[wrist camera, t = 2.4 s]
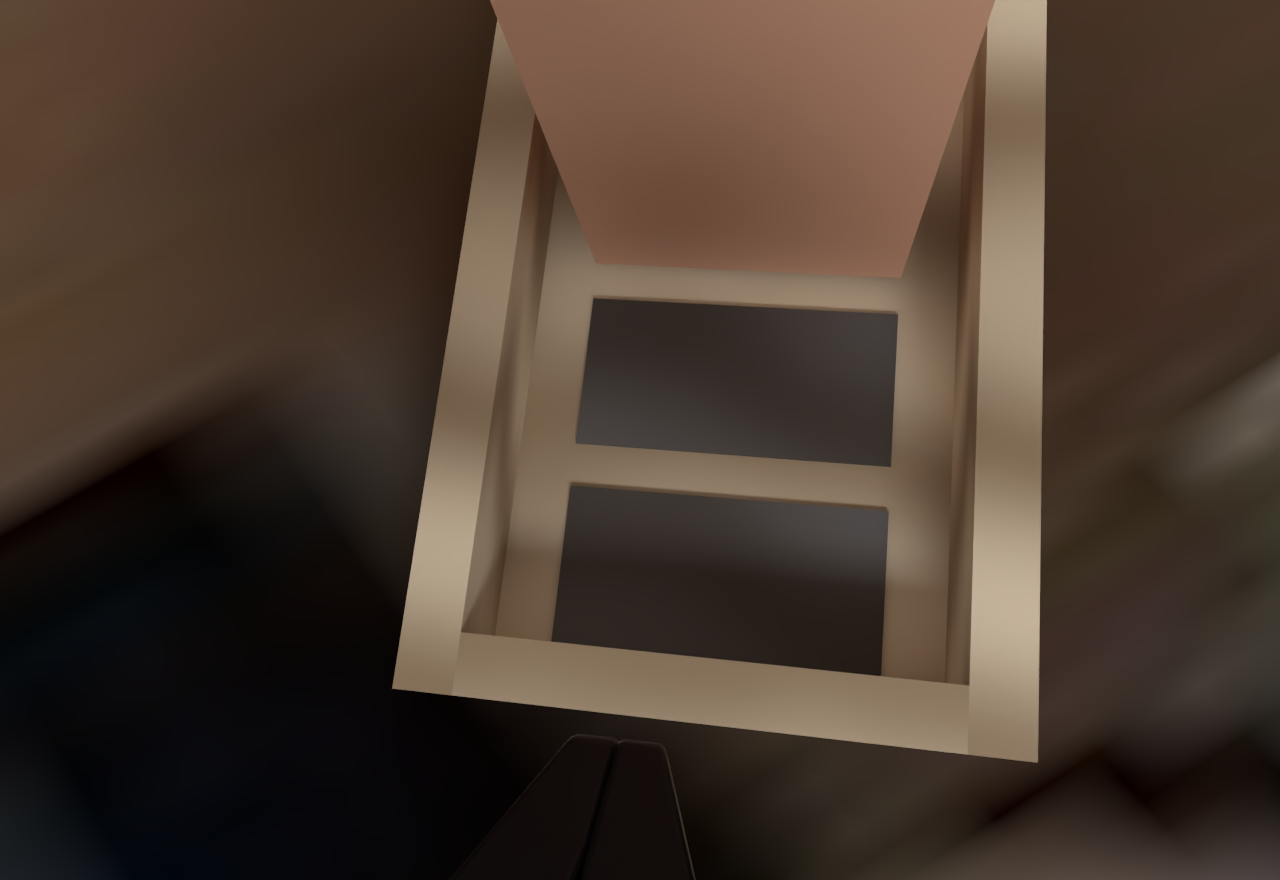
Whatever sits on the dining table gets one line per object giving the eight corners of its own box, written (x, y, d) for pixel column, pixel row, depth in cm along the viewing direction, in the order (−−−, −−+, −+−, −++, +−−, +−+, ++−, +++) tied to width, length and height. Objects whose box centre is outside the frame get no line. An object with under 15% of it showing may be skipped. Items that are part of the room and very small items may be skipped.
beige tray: (993, 749, 21) (1037, 762, 17) (448, 687, 22) (392, 688, 19) (1013, -188, 26) (1050, -317, 23) (573, -179, 28) (547, -298, 24)
